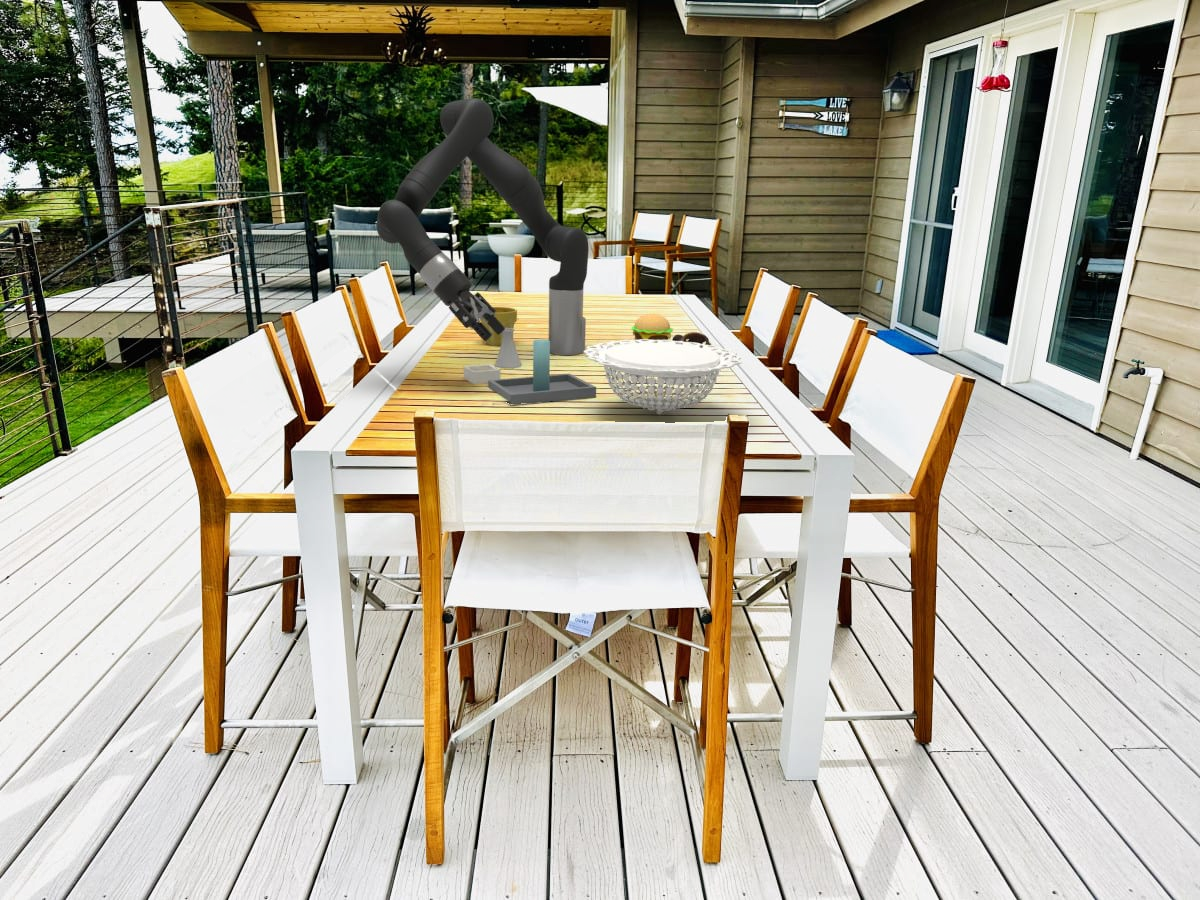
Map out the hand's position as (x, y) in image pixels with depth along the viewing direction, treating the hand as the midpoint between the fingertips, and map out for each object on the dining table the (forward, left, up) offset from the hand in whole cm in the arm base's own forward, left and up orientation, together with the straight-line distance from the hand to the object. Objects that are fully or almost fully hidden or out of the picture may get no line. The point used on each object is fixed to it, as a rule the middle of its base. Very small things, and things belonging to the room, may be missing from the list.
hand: (495, 335), depth 187 cm
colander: (-24, +31, -13) cm, 41 cm away
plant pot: (-19, -50, -13) cm, 55 cm away
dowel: (-8, +7, -12) cm, 16 cm away
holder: (+1, -7, -12) cm, 14 cm away
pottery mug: (-61, -15, -13) cm, 64 cm away
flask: (-10, -19, -13) cm, 25 cm away
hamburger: (-61, -36, -13) cm, 72 cm away
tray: (-8, +7, -12) cm, 16 cm away
